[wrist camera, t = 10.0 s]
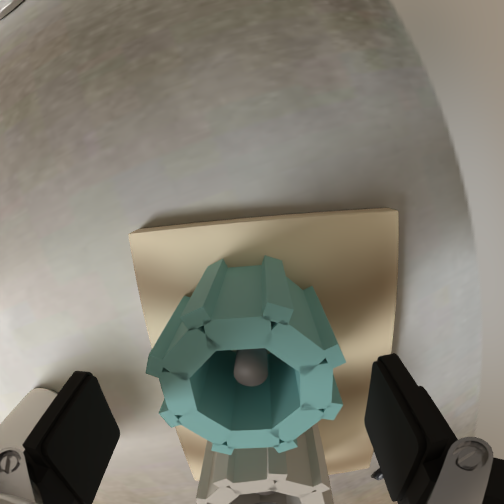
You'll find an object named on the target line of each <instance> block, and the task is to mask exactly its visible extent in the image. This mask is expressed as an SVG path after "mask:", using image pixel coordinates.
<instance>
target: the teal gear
mask: <svg viewBox="0 0 504 504" xmlns="http://www.w3.org/2000/svg"><path fill="white" fill-rule="evenodd" d="M257 348H265V349H267V350H268V351H270V353H269V354H267V361H268V376H267V379H266V380H265V381H264V382H263V383H262V384H260V385H258V386H245V385H242V384H240V383H239V382H238V381H237V380H236V379H235V377H234V366H235V358H236V353H234V352H233V351H231V350H242V349H257ZM344 363H346V360H345V358H344V355H343V353H342V351H341V348H340V346H339V344H338V341H337V339H336V337H335V335H334V332H333V330H332V328H331V325H330V323H329V321H328V319H327V316H326V314H325V312H324V310H323V307H322V305H321V303H320V301H319V298H318V296H317V294H316V292H315V290H314V288H313V286H311V287H309V288H306V289H304V290H302V289H301V288H300V287H299V286H297V285H296V284H295V283H294V282H293V281H291V280H290V279H289V278H288V277H286V275H285V271H284V267H283V263H282V260H279V259H276V258H272V257H269V256H266V255H265V256H264V259H263V262H262V265H254V266H242V267H229V268H228V267H227V265H226V263H225V261H224V259H221V260H219V261H217V262H215V263H213V264H212V265H210V266H208V267H207V268H206V270H205V272H204V274H203V276H202V277H201V279H200V281H199V283H198V285H197V287H196V288H195V290H194V292H193V294H192V296H191V298H190V297H187V296H183V298H182V300H181V301H180V303H179V305H178V306H177V308H176V310H175V311H174V313H173V315H172V316H171V318H170V320H169V321H168V323H167V325H166V326H165V328H164V330H163V331H162V333H161V335H160V337H159V338H158V340H157V342H156V343H155V345H154V347H153V349H152V350H151V352H150V354H149V357H148V362H147V368H146V374H149V375H152V376H155V377H158V378H159V381H160V384H161V388H162V391H163V394H164V397H165V399H164V401H163V404H162V406H161V409H160V411H159V414H160V415H161V417H162V418H163V419H164V420H165V421H166V422H167V423H168V425H169V426H170V427H175V426H179V425H182V426H184V427H185V428H187V429H189V430H191V431H192V432H194V433H196V434H197V435H199V436H201V437H203V438H204V439H206V440H208V441H210V442H212V449H211V451H215V452H219V453H224V454H228V455H231V454H232V452H233V450H234V449H241V448H266V447H274V448H275V449H276V451H277V452H278V453H281V452H284V451H287V450H290V449H293V448H296V447H298V445H297V437H298V436H300V435H301V434H303V433H304V432H305V431H307V430H308V429H309V428H311V427H312V426H313V425H314V424H316V423H317V422H318V421H320V420H321V419H328V420H334V419H335V417H336V416H337V414H338V412H339V411H340V409H341V408H342V406H343V402H342V399H341V396H340V393H339V390H338V387H337V384H336V381H335V378H334V375H333V368H336V367H338V366H340V365H342V364H344Z"/></svg>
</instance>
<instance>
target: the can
mask: <svg viewBox="0 0 504 504" xmlns="http://www.w3.org/2000/svg"><path fill="white" fill-rule="evenodd" d="M57 394H58V393H56V392H54V391H52V390H50V389H44V388H36V389H33V390H31V391H30V392H29V393H28V394H27V395H26V396H25V397H24V398H23V399H22V400H21V401H20V403H19V404H18V405H17V406H16V407H15V408H14V409H13V410H12V411H11V413H10V414H9V415H8V416H7V417H6V418H5V419H4V421H3V422H2V423H1V424H0V450H2V449H4V448H7V447H16V448H18V449H20V450H21V451H22V452H24V450H25V448H24V447H23V446H22V444H23V443H24V441H25V440H26V438H27V437H28V435H29V434H30V433H31V431H32V430H33V428H34V427H35V425H36V424H37V422H38V421H39V420H40V418H41V417H42V415H43V414H44V413H45V411H46V410H47V408H48V407H49V406H50V404H51V403H52V401H53V400H54V399H55V397H56V396H57Z"/></svg>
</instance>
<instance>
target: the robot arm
mask: <svg viewBox="0 0 504 504" xmlns="http://www.w3.org/2000/svg"><path fill="white" fill-rule="evenodd" d="M22 1H23V0H0V19H1V18H3V17H4V16H5V15H7V14H8V13H9V12H11V11H12V10H13V9H14V8H15V7H16V6H17V5H19V4H20V3H21V2H22ZM364 423H365V428H366V431H367V433H368V436H369V439H370V441H371V444H372V447H373V449H374V452H375V455H376V458H377V460H378V463H379V466H380V469H381V471H382V474H383V477H384V480H385V483H386V485H387V488H388V491H389V494H390V497H391V499H392V501H393V502H395V501H397V502H398V504H504V460H502V459H498V458H493V451H492V448H491V447H490V445H489V444H488V443H487V442H485V441H484V440H482V439H480V438H477V437H465V438H461V439H459V440H458V439H457V438H456V436H455V434H454V433H453V431H452V430H451V428H450V427H449V425H448V423H447V422H446V420H445V419H444V417H443V416H442V414H441V412H440V411H439V409H438V408H437V406H436V405H435V403H434V402H433V400H432V399H431V397H430V396H429V394H428V393H427V391H426V390H425V389H424V388H423V387H422V386H418V385H417V384H416V382H415V381H414V379H413V378H412V376H411V375H410V373H409V372H408V370H407V369H406V367H405V366H404V364H403V363H402V361H401V360H400V358H399V357H398V355H397V354H395V353H394V354H388V355H383V356H379V357H378V359H377V361H374V362H373V364H372V371H371V379H370V386H369V393H368V399H367V406H366V412H365V418H364ZM119 437H120V430H119V427H118V425H117V423H116V421H115V419H114V417H113V415H112V413H111V410H110V408H109V406H108V404H107V402H106V399H105V397H104V395H103V392H102V390H101V388H100V385H99V383H98V380H97V378H96V377H94V376H93V375H92V374H91V373H90V372H82V371H75V372H74V373H73V374H72V376H71V377H70V378H69V380H68V381H67V382H66V384H65V385H64V386H63V388H62V389H61V390H60V392H59V393H58V394H57V396H56V397H55V399H54V400H53V401H52V403H51V404H50V406H49V407H48V408H47V410H46V411H45V413H44V414H43V415H42V417H41V418H40V420H39V421H38V422H37V424H36V425H35V427H34V428H33V430H32V431H31V433H30V434H29V435H28V437H27V438H26V440H25V441H24V443H23V444H22V446H23V447H24V448H25V450H24V452H22V451H21V450H20V449H18V448H16V447H7V448H4V449H2V450H0V504H92V503H93V500H94V498H95V495H96V493H97V490H98V488H99V485H100V483H101V480H102V478H103V475H104V473H105V471H106V468H107V466H108V463H109V461H110V459H111V456H112V454H113V451H114V449H115V447H116V444H117V442H118V440H119Z"/></svg>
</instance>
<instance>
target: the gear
mask: <svg viewBox="0 0 504 504" xmlns="http://www.w3.org/2000/svg"><path fill="white" fill-rule="evenodd" d="M297 445H298V447H296V448H293V449H290V450H287V451H284V452H281V453H278V452H277V451H276V449H275V448H274V447H266V448H241V449H234V450H233V452H232V454H231V455H228V454H224V453H219V452H215V451H211V449H212V442H210V441H208V440H207V443H206V448H205V454H204V459H203V464H202V470H201V475H200V480H199V486H198V491H197V496H196V504H334V502H333V497H332V491H331V486H330V481H329V476H328V470H327V465H326V460H325V455H324V450H323V445H322V440H321V437H320V432H319V428H318V423H316V424H314V425H313V426H312V427H311V428H309V429H308V430H307V431H305V432H304V433H303V434H301V435H300V436H298V437H297ZM267 491H275V493H273V494H270V495H260V494H257V493H259V492H267Z"/></svg>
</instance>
